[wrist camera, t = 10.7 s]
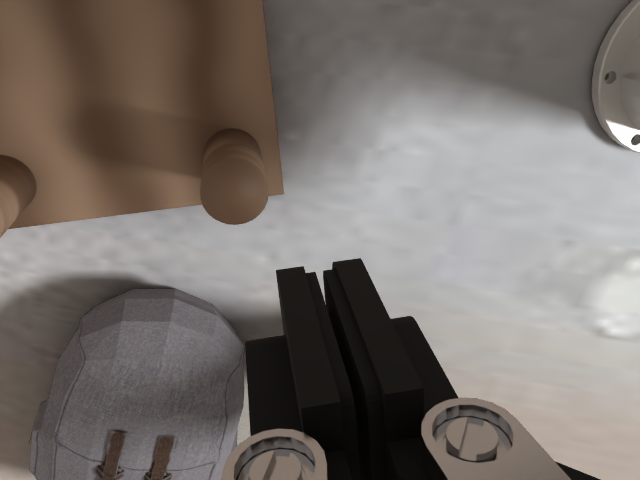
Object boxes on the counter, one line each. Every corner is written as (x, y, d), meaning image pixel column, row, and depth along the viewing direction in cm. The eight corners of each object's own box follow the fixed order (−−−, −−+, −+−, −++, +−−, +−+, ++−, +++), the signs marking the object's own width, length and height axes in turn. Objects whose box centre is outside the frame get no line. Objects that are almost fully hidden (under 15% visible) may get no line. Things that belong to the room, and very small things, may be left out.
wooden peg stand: (242, -156, 32) (248, -204, 23) (280, 181, 41) (295, 236, 32) (-141, -132, 30) (-286, -175, 21) (-15, 218, 39) (-83, 287, 30)
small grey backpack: (213, 482, 52) (274, 294, 45) (212, 568, 44) (285, 359, 37) (34, 463, 48) (70, 253, 41) (-1, 553, 40) (35, 316, 33)
